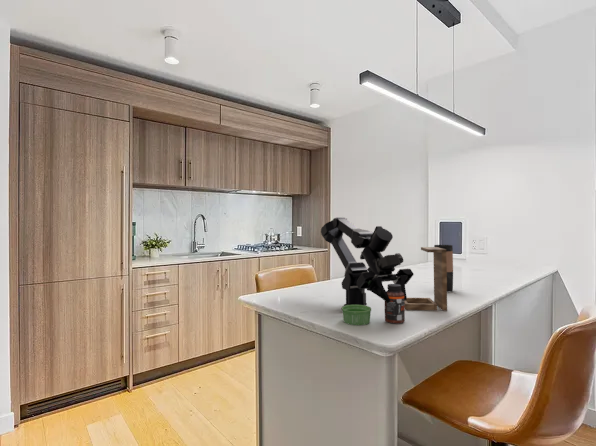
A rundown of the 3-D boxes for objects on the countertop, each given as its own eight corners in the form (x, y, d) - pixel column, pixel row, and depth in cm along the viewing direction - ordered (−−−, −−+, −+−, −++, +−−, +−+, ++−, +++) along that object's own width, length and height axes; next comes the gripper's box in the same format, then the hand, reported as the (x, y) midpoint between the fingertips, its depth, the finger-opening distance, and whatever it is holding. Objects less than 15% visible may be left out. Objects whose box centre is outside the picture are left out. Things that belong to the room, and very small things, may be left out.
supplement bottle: (405, 324, 104) (405, 286, 104) (385, 323, 105) (384, 286, 105) (403, 319, 109) (403, 283, 109) (384, 318, 111) (383, 282, 111)
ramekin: (377, 322, 107) (377, 308, 107) (356, 328, 101) (356, 313, 101) (356, 316, 114) (356, 303, 114) (336, 321, 109) (335, 307, 109)
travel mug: (453, 289, 156) (452, 244, 156) (453, 292, 149) (452, 245, 149) (435, 288, 159) (434, 244, 159) (434, 291, 152) (433, 245, 152)
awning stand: (405, 309, 121) (405, 249, 121) (400, 302, 132) (399, 247, 132) (447, 310, 119) (446, 249, 119) (438, 303, 130) (437, 247, 130)
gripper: (360, 246, 107) (383, 288, 97) (409, 244, 114) (434, 282, 104) (348, 268, 115) (367, 309, 104) (394, 265, 122) (416, 303, 111)
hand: (397, 300), depth 106 cm, fingers closed on supplement bottle, 6 cm apart
